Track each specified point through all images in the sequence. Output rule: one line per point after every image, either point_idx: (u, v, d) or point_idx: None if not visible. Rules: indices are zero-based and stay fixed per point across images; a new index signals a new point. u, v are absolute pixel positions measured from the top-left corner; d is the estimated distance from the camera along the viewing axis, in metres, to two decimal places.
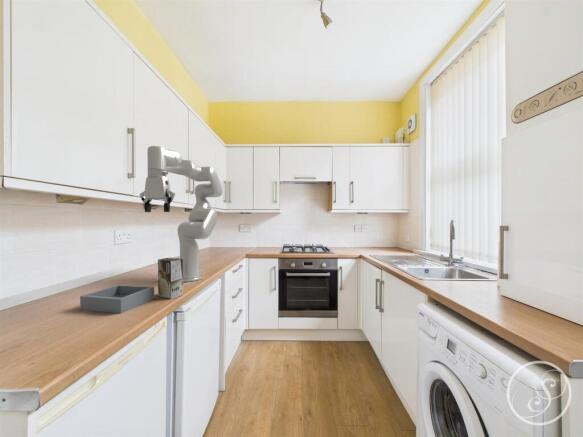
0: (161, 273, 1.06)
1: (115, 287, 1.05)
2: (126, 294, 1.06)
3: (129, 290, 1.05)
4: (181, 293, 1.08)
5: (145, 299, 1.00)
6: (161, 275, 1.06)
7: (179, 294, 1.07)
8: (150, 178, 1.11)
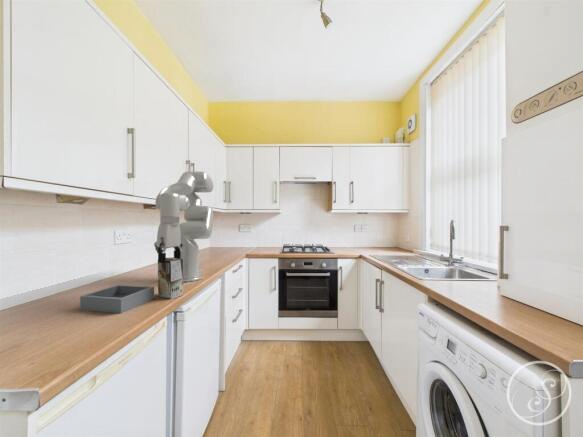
0: (161, 273, 1.06)
1: (115, 287, 1.05)
2: (126, 294, 1.06)
3: (129, 290, 1.05)
4: (181, 293, 1.08)
5: (145, 299, 1.00)
6: (161, 275, 1.06)
7: (179, 294, 1.07)
8: (172, 226, 1.06)
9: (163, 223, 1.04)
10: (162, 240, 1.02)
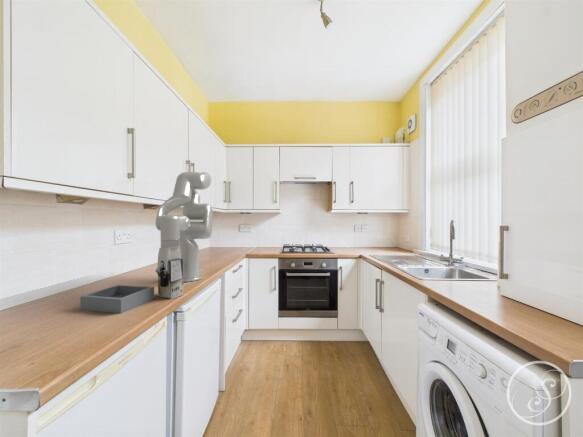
0: None
1: (115, 287, 1.05)
2: (126, 294, 1.06)
3: (129, 290, 1.05)
4: (181, 293, 1.08)
5: (145, 299, 1.00)
6: None
7: (179, 294, 1.07)
8: (173, 249, 1.06)
9: (163, 246, 1.05)
10: (163, 264, 1.03)
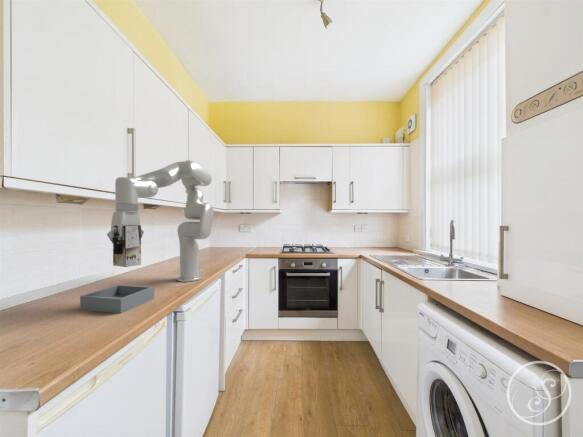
0: None
1: (115, 287, 1.05)
2: (126, 294, 1.06)
3: (129, 290, 1.05)
4: (138, 262, 0.99)
5: (145, 299, 1.00)
6: None
7: (136, 263, 0.98)
8: (129, 214, 0.98)
9: (118, 210, 0.96)
10: (117, 229, 0.94)
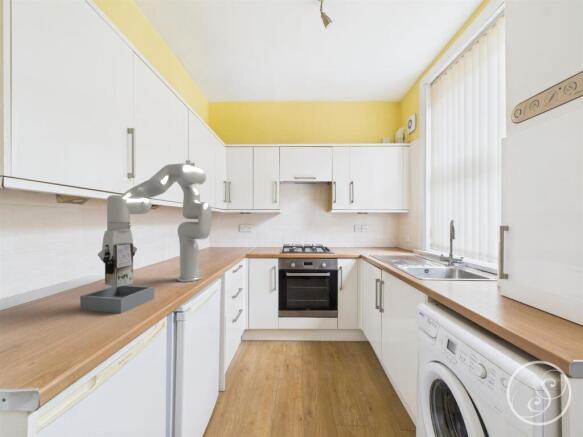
0: None
1: (115, 287, 1.05)
2: (126, 294, 1.06)
3: (129, 290, 1.05)
4: (130, 281, 0.98)
5: (145, 299, 1.00)
6: None
7: (128, 282, 0.97)
8: (121, 232, 0.96)
9: (109, 229, 0.94)
10: (108, 249, 0.93)
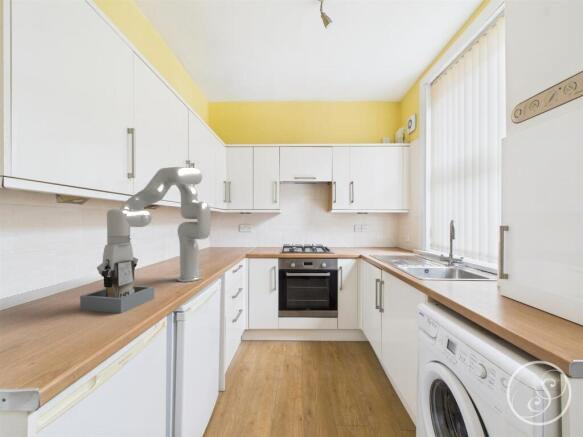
0: None
1: None
2: None
3: None
4: None
5: (145, 299, 1.00)
6: None
7: None
8: (121, 246, 0.96)
9: (109, 243, 0.95)
10: (107, 263, 0.93)
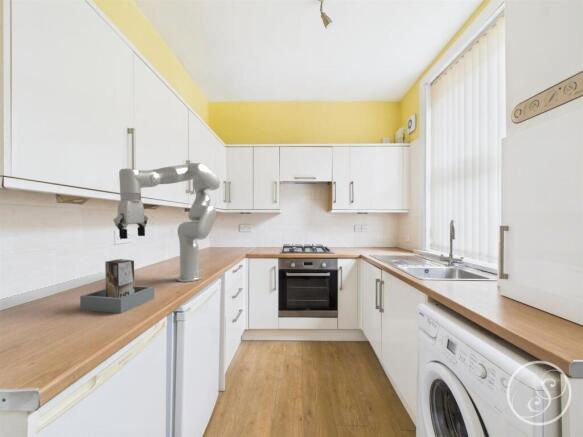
0: (108, 277, 0.96)
1: None
2: None
3: None
4: None
5: (145, 299, 1.00)
6: (109, 278, 0.96)
7: None
8: (133, 202, 1.06)
9: (123, 199, 1.04)
10: (122, 216, 1.02)
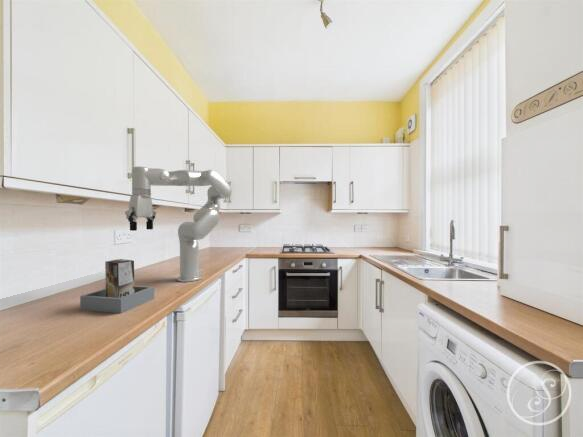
0: (108, 277, 0.96)
1: None
2: None
3: None
4: None
5: (145, 299, 1.00)
6: (109, 278, 0.96)
7: None
8: (143, 197, 1.15)
9: (134, 194, 1.13)
10: (133, 210, 1.11)
